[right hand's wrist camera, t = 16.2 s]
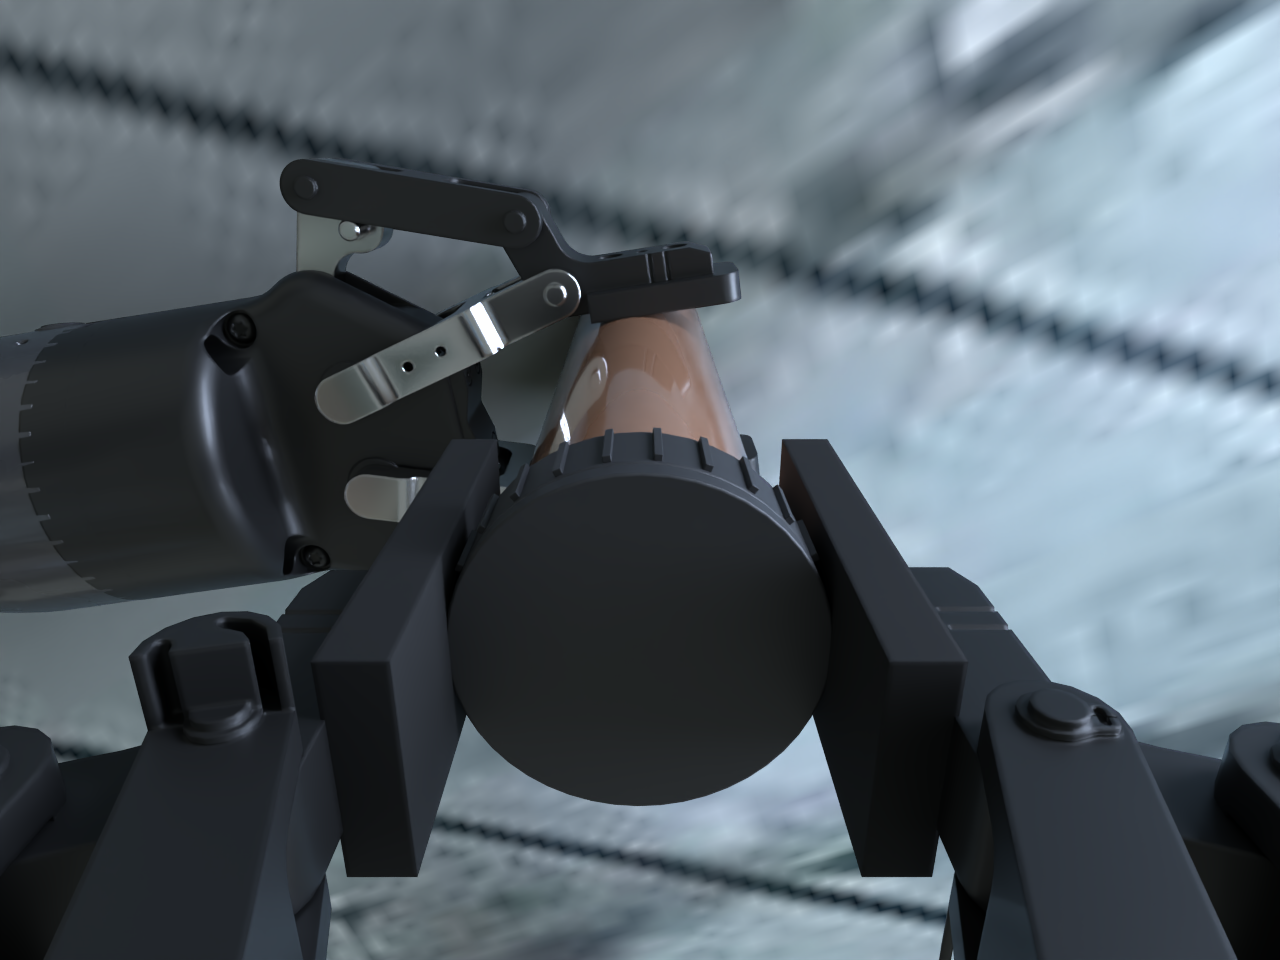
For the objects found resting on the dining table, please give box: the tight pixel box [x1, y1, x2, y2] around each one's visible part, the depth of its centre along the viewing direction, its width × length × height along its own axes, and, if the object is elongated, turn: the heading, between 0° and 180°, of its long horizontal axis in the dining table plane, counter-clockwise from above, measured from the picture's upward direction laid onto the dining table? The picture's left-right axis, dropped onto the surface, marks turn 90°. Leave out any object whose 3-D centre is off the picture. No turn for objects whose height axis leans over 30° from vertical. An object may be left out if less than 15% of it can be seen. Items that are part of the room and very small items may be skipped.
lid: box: [447, 427, 832, 806], centre depth 11 cm, size 5×5×2 cm
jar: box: [529, 308, 748, 467], centre depth 20 cm, size 4×4×18 cm
